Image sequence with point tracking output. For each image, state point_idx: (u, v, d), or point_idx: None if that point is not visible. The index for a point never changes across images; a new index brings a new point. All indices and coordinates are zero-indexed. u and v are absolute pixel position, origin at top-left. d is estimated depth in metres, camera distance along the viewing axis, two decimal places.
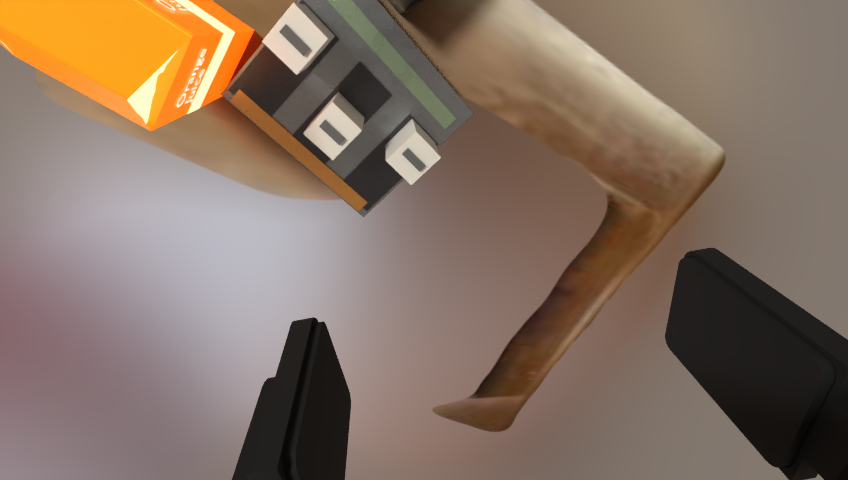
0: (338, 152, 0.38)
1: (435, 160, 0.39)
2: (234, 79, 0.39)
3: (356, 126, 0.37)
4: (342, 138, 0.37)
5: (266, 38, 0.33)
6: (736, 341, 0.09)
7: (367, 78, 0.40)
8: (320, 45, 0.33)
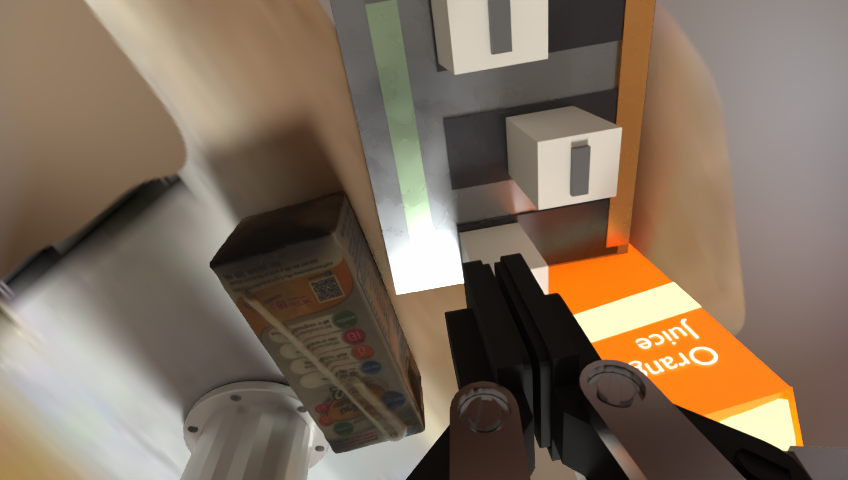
0: (601, 133, 0.19)
1: None
2: (599, 256, 0.29)
3: (539, 154, 0.19)
4: (575, 153, 0.19)
5: None
6: None
7: (459, 164, 0.25)
8: None
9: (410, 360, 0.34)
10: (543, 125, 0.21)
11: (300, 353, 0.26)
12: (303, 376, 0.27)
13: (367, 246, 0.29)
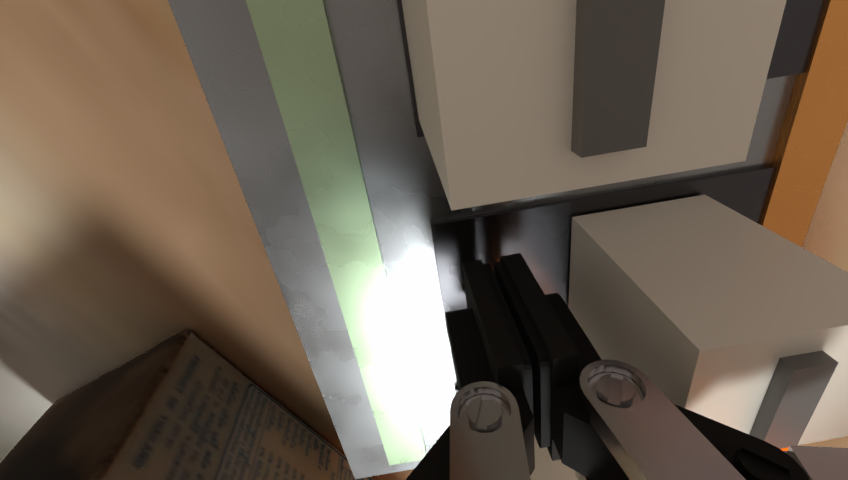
0: None
1: None
2: None
3: (698, 373, 0.07)
4: (795, 378, 0.07)
5: None
6: None
7: (461, 298, 0.13)
8: None
9: None
10: (675, 263, 0.09)
11: None
12: None
13: (266, 399, 0.17)
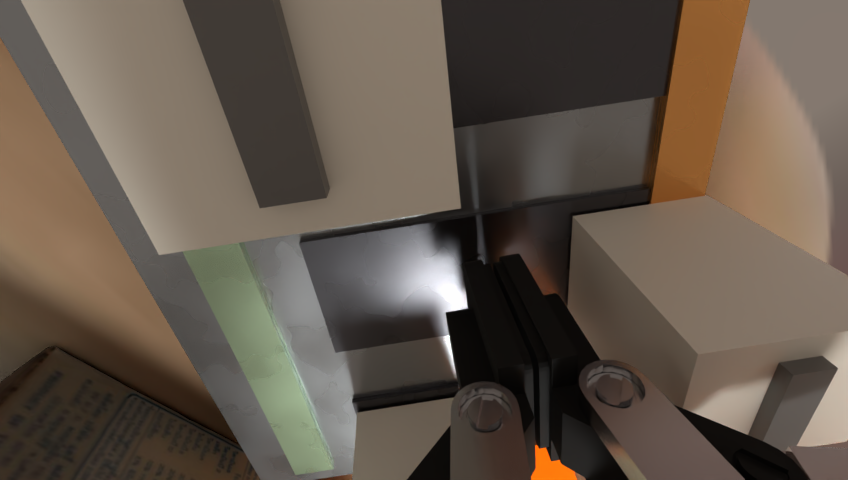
0: None
1: None
2: None
3: (696, 377, 0.07)
4: (794, 383, 0.07)
5: None
6: None
7: (343, 314, 0.13)
8: None
9: None
10: (675, 265, 0.09)
11: None
12: None
13: (151, 407, 0.17)
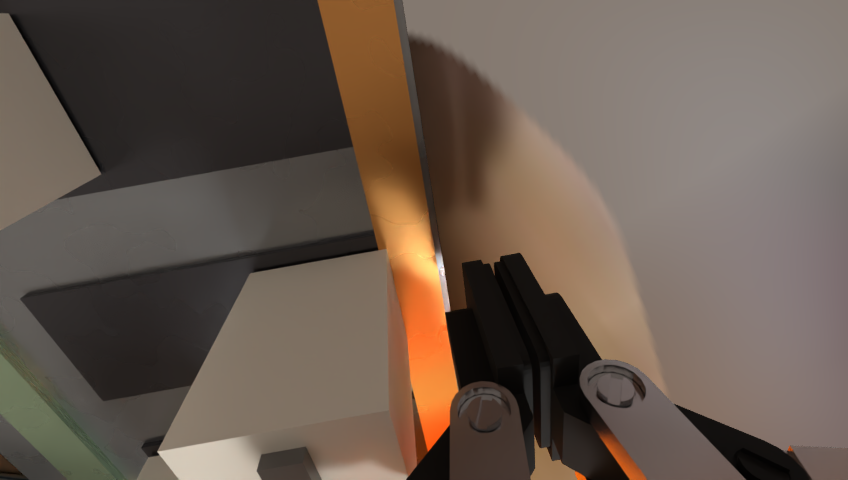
0: (335, 425, 0.07)
1: None
2: None
3: (178, 471, 0.07)
4: (266, 478, 0.07)
5: None
6: None
7: (95, 365, 0.13)
8: None
9: None
10: (264, 337, 0.09)
11: None
12: None
13: None
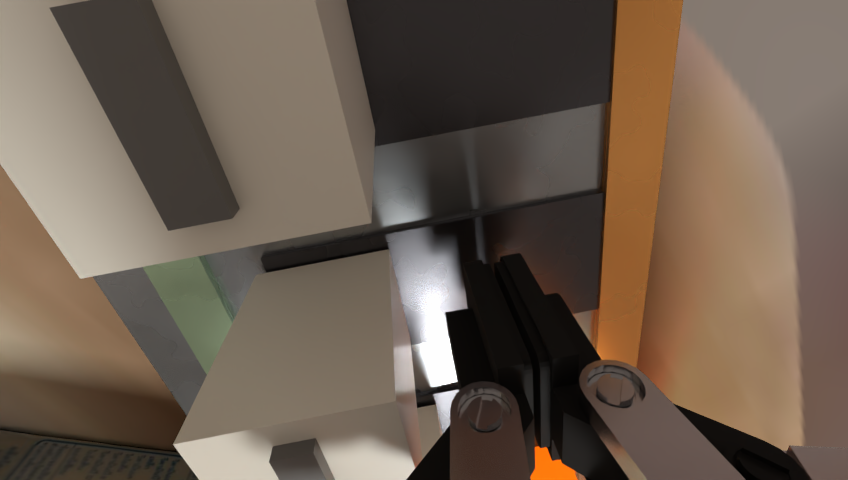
0: (344, 417, 0.07)
1: None
2: None
3: (192, 463, 0.07)
4: (278, 468, 0.07)
5: None
6: None
7: None
8: None
9: None
10: (272, 335, 0.09)
11: None
12: None
13: (65, 446, 0.17)
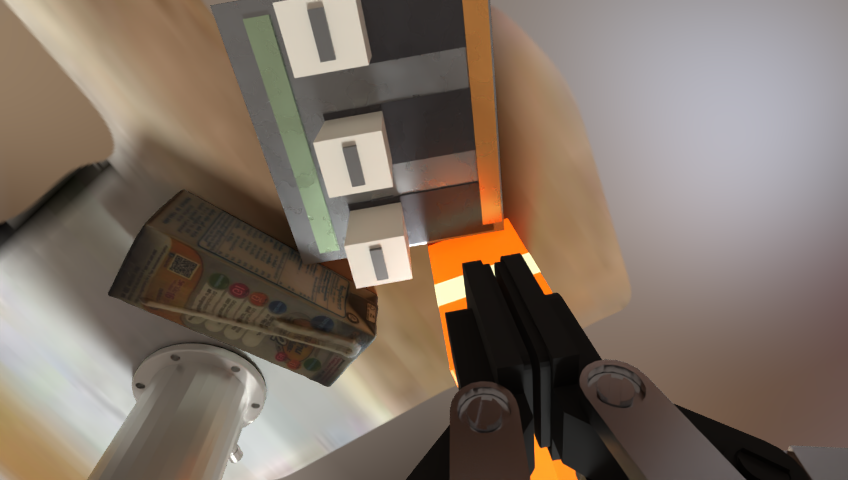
0: (365, 135, 0.23)
1: (285, 4, 0.20)
2: (479, 233, 0.34)
3: (317, 152, 0.23)
4: (344, 152, 0.23)
5: (406, 278, 0.28)
6: None
7: None
8: (356, 245, 0.27)
9: (350, 287, 0.37)
10: (337, 128, 0.25)
11: (221, 323, 0.31)
12: (241, 339, 0.32)
13: (234, 218, 0.33)
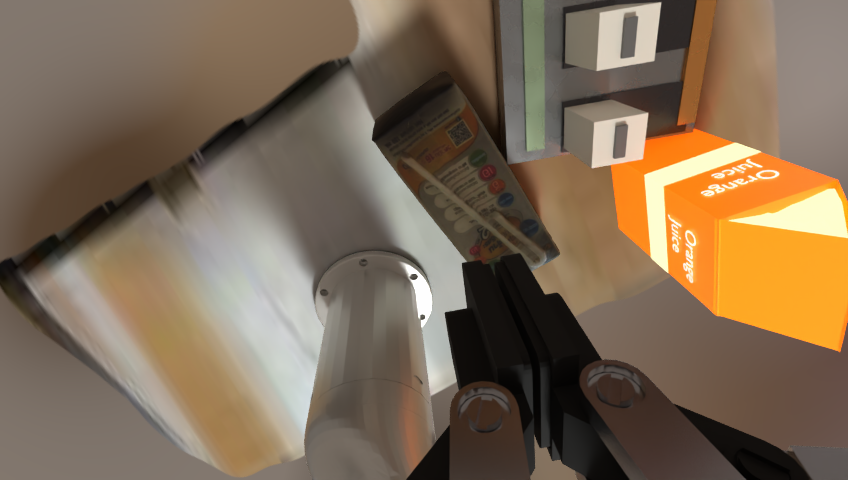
0: (646, 7, 0.26)
1: None
2: (670, 134, 0.36)
3: (600, 23, 0.26)
4: (627, 22, 0.26)
5: (637, 158, 0.31)
6: None
7: None
8: (605, 121, 0.29)
9: None
10: (599, 10, 0.28)
11: (449, 200, 0.34)
12: (455, 222, 0.35)
13: None
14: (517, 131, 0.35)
